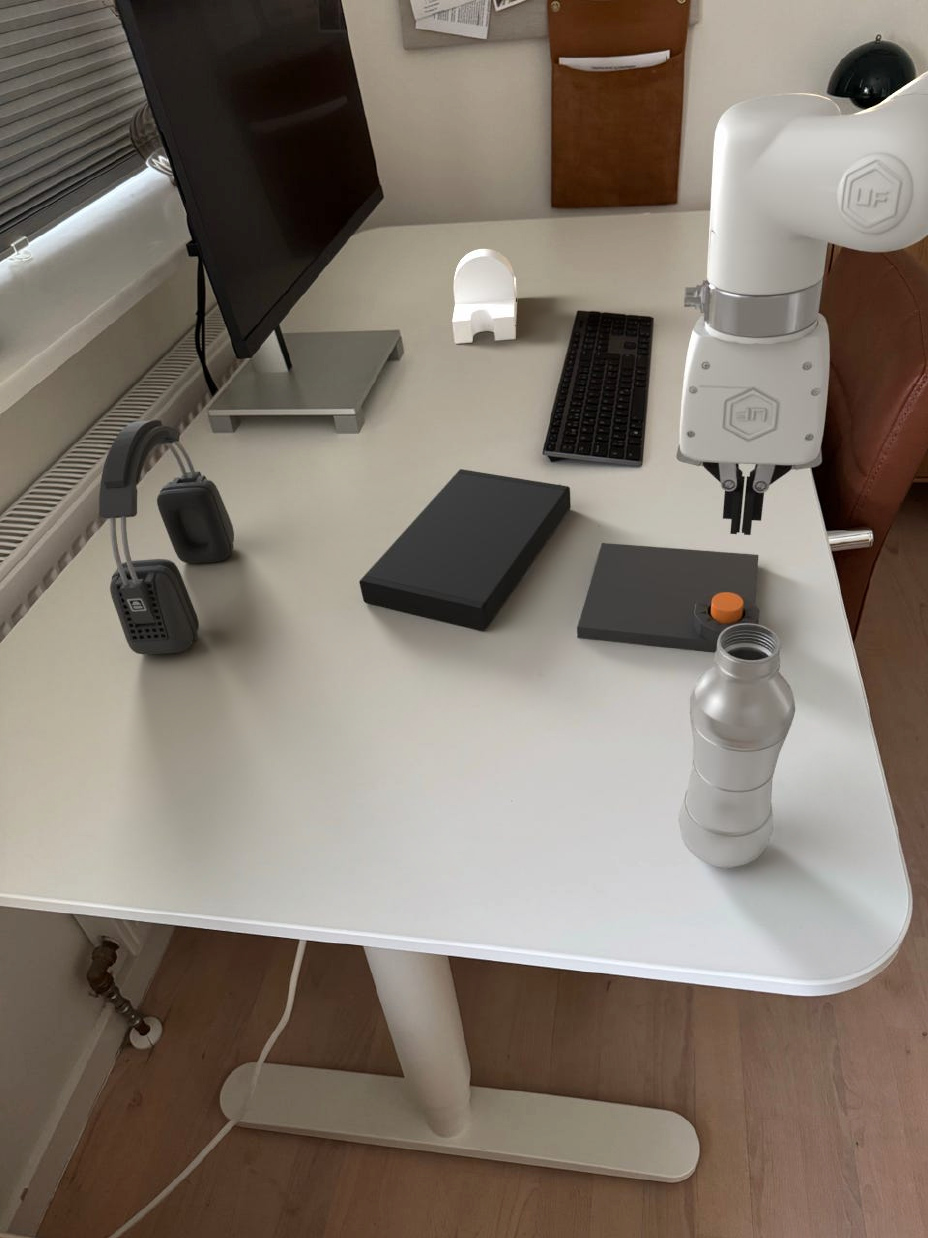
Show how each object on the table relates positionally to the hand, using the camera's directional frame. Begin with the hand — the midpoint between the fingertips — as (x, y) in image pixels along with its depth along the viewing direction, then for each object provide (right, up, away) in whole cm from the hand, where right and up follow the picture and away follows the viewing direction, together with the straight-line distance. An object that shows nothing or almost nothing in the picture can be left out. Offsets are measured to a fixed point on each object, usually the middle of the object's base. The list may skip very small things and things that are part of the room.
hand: (741, 524), depth 73 cm
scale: (-2, -6, +16) cm, 17 cm away
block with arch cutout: (-19, +42, +77) cm, 90 cm away
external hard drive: (-22, -1, +26) cm, 34 cm away
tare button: (+1, -7, +9) cm, 12 cm away
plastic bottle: (-3, -25, -6) cm, 26 cm away
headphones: (-53, -5, +25) cm, 59 cm away
